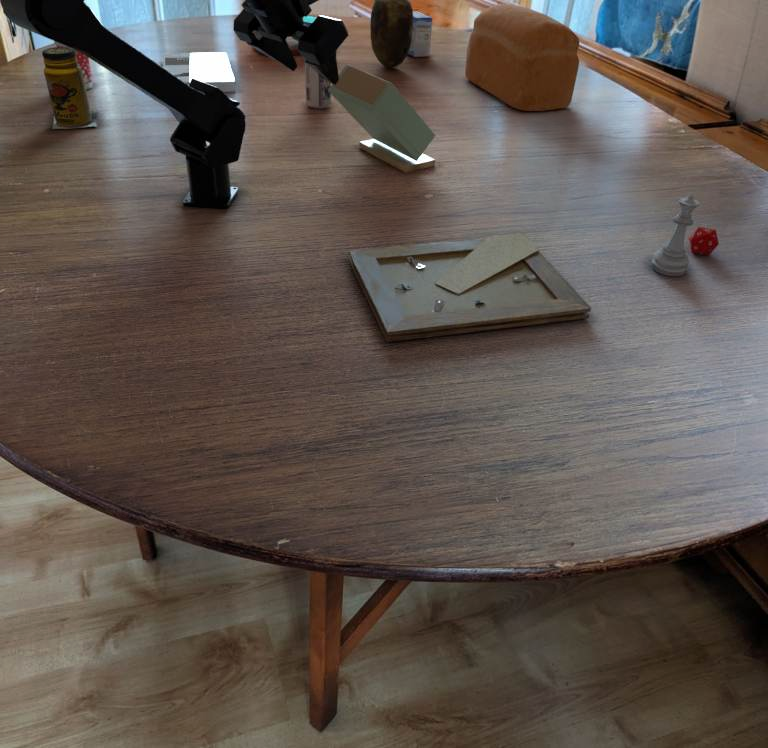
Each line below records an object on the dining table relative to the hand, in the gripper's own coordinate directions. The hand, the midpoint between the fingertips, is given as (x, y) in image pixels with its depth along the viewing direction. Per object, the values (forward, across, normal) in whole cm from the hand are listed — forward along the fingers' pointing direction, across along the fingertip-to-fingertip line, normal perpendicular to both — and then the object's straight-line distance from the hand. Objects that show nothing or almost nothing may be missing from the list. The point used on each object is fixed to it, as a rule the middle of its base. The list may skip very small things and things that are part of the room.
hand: (315, 75), depth 108 cm
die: (+22, -56, -7) cm, 61 cm away
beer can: (+23, +23, -9) cm, 34 cm away
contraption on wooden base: (+38, +60, -29) cm, 77 cm away
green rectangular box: (+17, -6, -5) cm, 19 cm away
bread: (+46, +3, -40) cm, 61 cm away
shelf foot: (+18, -6, -2) cm, 19 cm away
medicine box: (+50, +39, -46) cm, 78 cm away
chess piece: (+18, -55, -1) cm, 58 cm away
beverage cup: (+6, +61, +15) cm, 63 cm away
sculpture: (+42, +34, -35) cm, 64 cm away
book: (+19, +53, -3) cm, 57 cm away
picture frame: (+4, -41, +19) cm, 45 cm away
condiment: (0, +43, +23) cm, 49 cm away
